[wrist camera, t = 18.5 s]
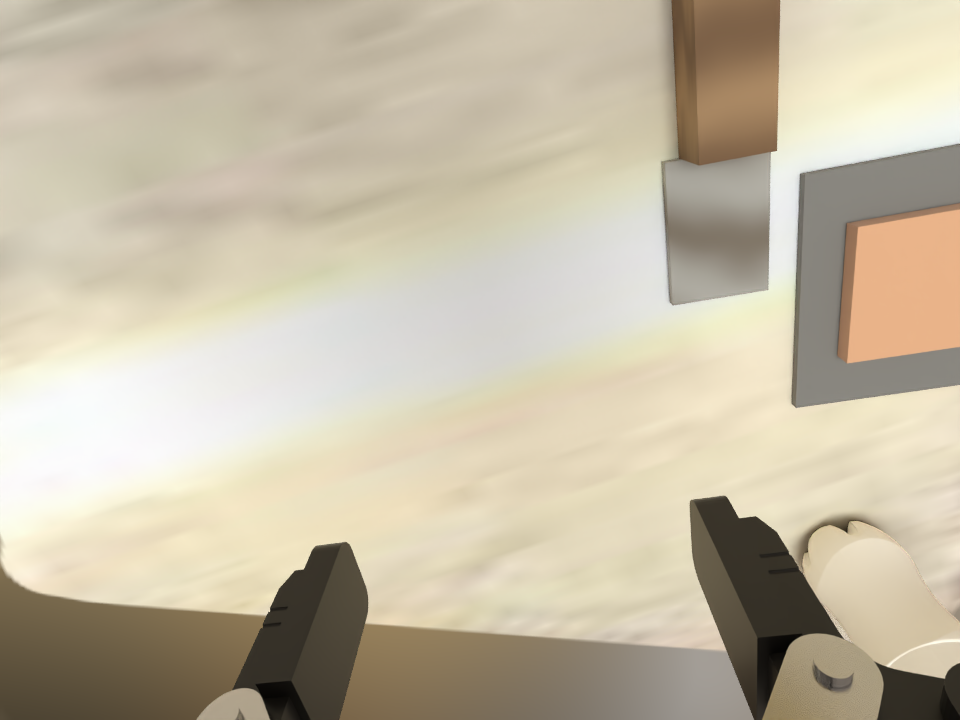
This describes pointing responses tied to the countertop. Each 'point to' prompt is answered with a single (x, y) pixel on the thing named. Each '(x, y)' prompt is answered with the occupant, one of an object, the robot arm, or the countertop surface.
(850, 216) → the slate mat
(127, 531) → the countertop surface
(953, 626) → the water bottle
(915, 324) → the tile
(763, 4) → the board
